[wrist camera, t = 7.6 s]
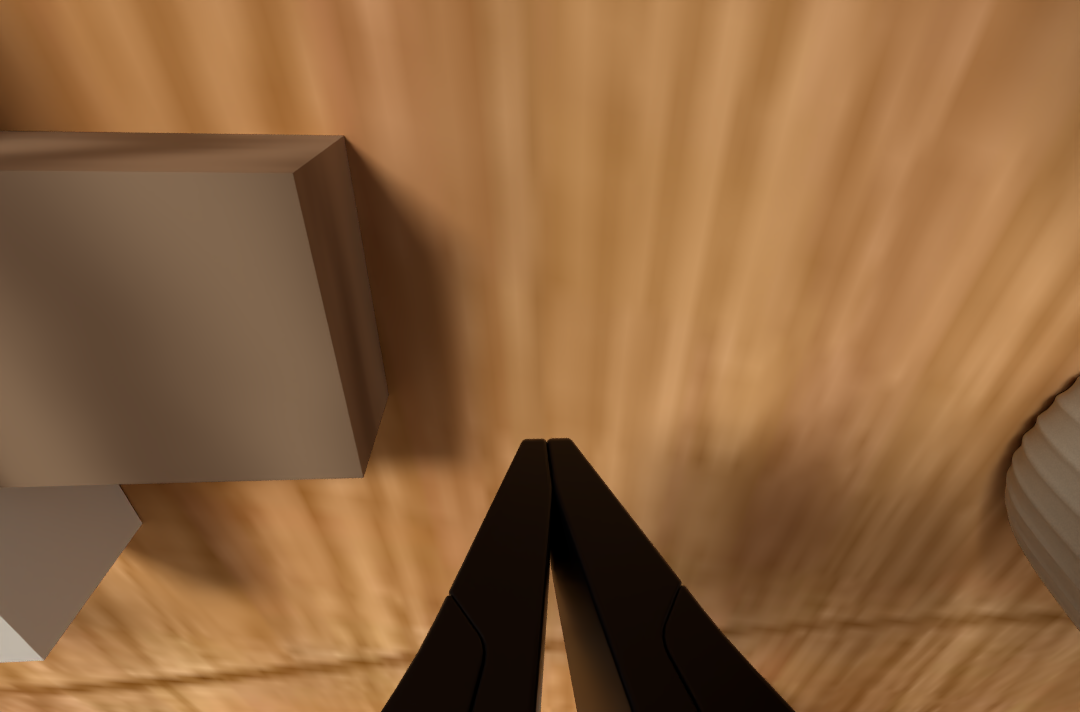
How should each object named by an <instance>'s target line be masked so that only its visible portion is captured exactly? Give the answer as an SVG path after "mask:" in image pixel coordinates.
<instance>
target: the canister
mask: <svg viewBox="0 0 1080 712" xmlns="http://www.w3.org/2000/svg"><path fill="white" fill-rule="evenodd" d="M1006 484H1007V485H1006V488H1005V496H1004V497H1005V505H1006V508H1007V513H1008V520H1009V523H1010V526H1011V529H1012V532H1013V534H1014V536H1015V538H1016V540H1017V542H1018V544H1019V546H1020V547H1021V549H1022V550H1023V552H1024V554H1025V556H1026V557H1027V559H1028V561H1029V562H1030V564H1031V565H1032V567H1033V569H1034V570H1035V572H1036V573H1037V574H1038V576H1039V577H1040V579H1041V580H1042V582H1043V583H1044V584H1045V586H1046V587H1047V588H1048V590H1049V591H1050V593H1051V594H1052V595H1053V597H1054V598H1055V599H1056V601H1057V602H1058V603H1059V605H1060V606H1061V607H1062V609H1063V610H1064V611H1065V613H1066V614H1067V615H1068V617H1069V618H1070V619H1071V621H1072V622H1073V623H1074V625H1075V626H1076V627H1077V628H1078V630H1079V631H1080V376H1079V377H1078V378H1077V380H1076V381H1075V383H1074V384H1073V385H1072V386H1071V387H1070V388H1069V389H1068V390H1066V391H1065V392H1063V393H1061V394H1059V395H1057V396H1056V398H1055V401H1054V402H1053V404H1052V405H1051V406H1050V407H1049V408H1048V409H1047V410H1046V411H1044V412H1043V413H1041V414H1040V415H1039V416H1038V417H1037V421H1036V424H1035V425H1034V427H1033V428H1032V429H1030V430H1029V431H1028V432H1027V433H1025V434H1024V436H1023V438H1022V445H1021V446H1020V447H1019V448H1018V449H1017V450H1016V451H1015V452H1014V454H1013V456H1012V465H1011V466H1010V468H1009V469H1008V472H1007V475H1006Z"/></svg>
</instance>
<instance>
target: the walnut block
mask: <svg viewBox="0 0 1080 712" xmlns="http://www.w3.org/2000/svg"><path fill="white" fill-rule="evenodd" d="M388 395H389V394H388V389H387V383H386V377H385V371H384V365H383V360H382V354H381V348H380V342H379V336H378V331H377V325H376V319H375V313H374V307H373V301H372V296H371V290H370V284H369V278H368V272H367V267H366V261H365V255H364V249H363V243H362V238H361V232H360V226H359V220H358V214H357V209H356V203H355V197H354V191H353V185H352V179H351V174H350V168H349V162H348V156H347V150H346V145H345V139H344V136H342V135H268V134H195V133H121V132H48V131H0V488H3V487H40V486H77V485H114V484H151V483H188V482H225V481H262V480H299V479H336V478H363V477H364V474H365V471H366V468H367V464H368V461H369V458H370V454H371V451H372V448H373V445H374V441H375V438H376V435H377V432H378V428H379V425H380V422H381V418H382V415H383V412H384V409H385V405H386V402H387V399H388Z"/></svg>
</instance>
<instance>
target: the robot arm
mask: <svg viewBox="0 0 1080 712" xmlns="http://www.w3.org/2000/svg"><path fill="white" fill-rule="evenodd" d="M550 561H551V569H552V576H553V582H554V587H555V593H556V598H557V604H558V609H559V615H560V620H561V626H562V631H563V637H564V642H565V648H566V653H567V659H568V664H569V670H570V675H571V681H572V686H573V692H574V697H575V703H576V708H577V712H795V711H794V710H793V708H792V707H791V706H790V705H789V704H788V703H787V702H786V701H785V700H784V699H783V698H782V697H781V696H780V695H779V694H778V693H777V692H776V691H775V689H774V688H773V687H772V686H771V685H770V684H769V683H768V682H767V681H766V680H765V679H764V678H763V677H762V676H761V675H760V674H759V673H758V672H757V670H756V669H755V668H754V667H753V666H752V665H751V664H750V663H749V662H748V661H747V660H746V658H745V657H744V656H743V655H742V654H741V653H740V652H739V651H738V650H737V649H736V647H735V646H734V645H733V644H732V643H731V642H730V641H729V640H728V639H727V638H726V637H725V635H724V634H723V633H722V632H721V630H720V629H719V628H718V627H717V626H716V624H715V623H714V622H713V621H712V619H711V618H710V617H709V616H708V615H707V613H706V612H705V611H704V610H703V609H702V607H701V606H700V605H699V603H698V602H697V601H696V600H695V598H694V597H693V596H692V594H691V593H690V592H689V590H688V589H687V588H686V587H685V586H684V585H683V586H681V584H682V583H681V580H680V579H679V578H678V577H677V575H676V574H675V573H674V571H673V570H672V569H671V568H670V566H669V565H668V564H667V562H666V561H665V560H664V559H663V557H662V556H661V555H660V553H659V552H658V551H657V549H656V548H655V547H654V546H653V544H652V543H651V542H650V540H649V539H648V538H647V537H646V535H645V534H644V533H643V531H642V530H641V529H640V528H639V526H638V525H637V524H636V522H635V521H634V520H633V519H632V517H631V516H630V515H629V513H628V512H627V511H626V510H625V508H624V507H623V506H622V504H621V503H620V502H619V500H618V499H617V498H616V497H615V495H614V494H613V493H612V491H611V490H610V489H609V488H608V486H607V485H606V484H605V482H604V481H603V480H602V479H601V477H600V476H599V475H598V473H597V472H596V471H595V470H594V468H593V467H592V466H591V464H590V463H589V462H588V461H587V459H586V458H585V457H584V455H583V454H582V453H581V451H580V450H579V449H578V448H577V446H576V445H575V444H574V442H573V441H572V440H571V439H569V438H551V439H549V440H548V441H547V442H546V440H545V439H525V440H523V441H522V443H521V445H520V447H519V449H518V451H517V453H516V455H515V457H514V459H513V461H512V463H511V465H510V467H509V469H508V471H507V473H506V475H505V477H504V479H503V482H502V484H501V486H500V488H499V490H498V492H497V494H496V496H495V498H494V500H493V502H492V504H491V506H490V508H489V510H488V512H487V514H486V517H485V519H484V521H483V523H482V525H481V527H480V529H479V531H478V533H477V535H476V537H475V539H474V541H473V543H472V545H471V547H470V549H469V552H468V554H467V556H466V558H465V560H464V562H463V564H462V566H461V568H460V570H459V572H458V574H457V576H456V578H455V580H454V582H453V584H452V587H451V589H450V591H449V596H447V597H446V598H445V600H444V602H443V604H442V606H441V609H440V611H439V613H438V615H437V617H436V619H435V621H434V623H433V624H432V626H431V628H430V630H429V632H428V634H427V636H426V638H425V640H424V642H423V643H422V645H421V647H420V649H419V651H418V653H417V654H416V656H415V658H414V659H413V661H412V663H411V664H410V666H409V668H408V669H407V671H406V673H405V674H404V676H403V678H402V679H401V681H400V683H399V684H398V686H397V688H396V689H395V691H394V692H393V694H392V695H391V697H390V699H389V700H388V702H387V703H386V705H385V706H384V708H383V709H382V711H381V712H541V697H542V681H543V666H544V651H545V635H546V620H547V605H548V589H549V572H550Z"/></svg>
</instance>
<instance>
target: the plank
mask: <svg viewBox="0 0 1080 712" xmlns="http://www.w3.org/2000/svg"><path fill="white" fill-rule="evenodd" d="M141 525H142V522H141V520H140V519H139V517H138V515H137V514H136V512H135V511H134V509H133V507H132V506H131V504H130V502H129V501H128V499H127V497H126V496H125V494H124V492H123V491H122V489H121V488H120V486H119V484H114V485H77V486H40V487H3V488H0V662H21V661H42V660H45V658H46V657H47V656H48V654H49V653H50V651H51V650H52V649H53V647H54V646H55V645H56V643H57V642H58V640H59V639H60V638H61V636H62V635H63V633H64V632H65V631H66V629H67V628H68V626H69V625H70V624H71V622H72V621H73V619H74V618H75V617H76V615H77V614H78V613H79V611H80V610H81V608H82V607H83V606H84V604H85V603H86V601H87V600H88V599H89V597H90V596H91V594H92V593H93V592H94V590H95V589H96V587H97V586H98V585H99V583H100V582H101V581H102V579H103V578H104V576H105V575H106V574H107V572H108V571H109V569H110V568H111V567H112V565H113V564H114V562H115V561H116V560H117V558H118V557H119V555H120V554H121V553H122V551H123V550H124V549H125V547H126V546H127V544H128V543H129V542H130V540H131V539H132V537H133V536H134V535H135V533H136V532H137V530H138V529H139V528H140V526H141Z"/></svg>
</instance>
